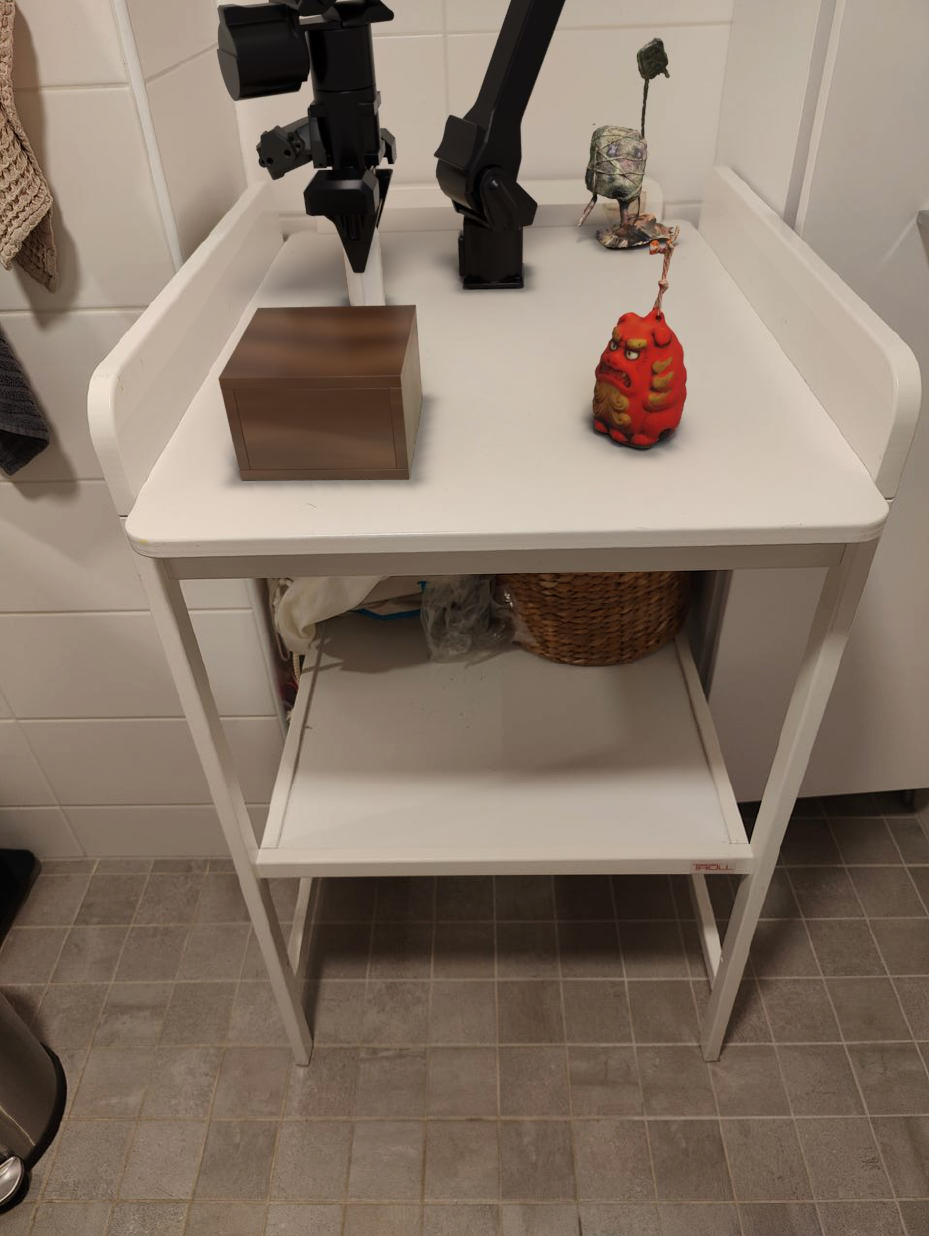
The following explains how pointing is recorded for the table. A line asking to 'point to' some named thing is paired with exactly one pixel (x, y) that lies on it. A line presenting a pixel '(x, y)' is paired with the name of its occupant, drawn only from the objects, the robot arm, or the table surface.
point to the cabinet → (325, 393)
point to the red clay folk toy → (642, 374)
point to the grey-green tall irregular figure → (626, 165)
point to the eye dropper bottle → (367, 278)
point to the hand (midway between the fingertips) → (363, 261)
